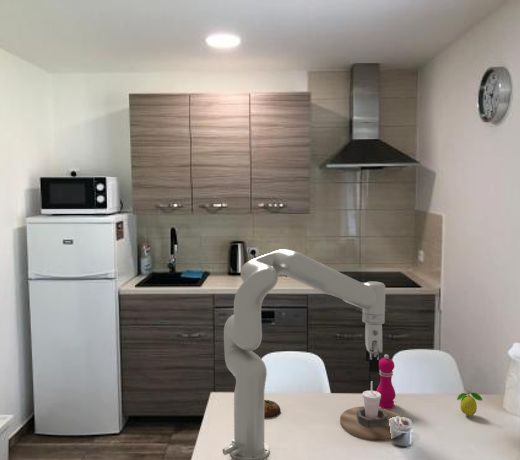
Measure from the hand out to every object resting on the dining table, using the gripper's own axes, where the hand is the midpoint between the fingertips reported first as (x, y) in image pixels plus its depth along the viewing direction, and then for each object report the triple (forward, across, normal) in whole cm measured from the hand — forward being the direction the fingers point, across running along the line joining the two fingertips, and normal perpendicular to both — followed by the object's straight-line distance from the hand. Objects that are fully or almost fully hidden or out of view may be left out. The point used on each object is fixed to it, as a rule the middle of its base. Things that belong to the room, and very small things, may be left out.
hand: (372, 365), depth 169 cm
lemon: (+21, +11, -37) cm, 44 cm away
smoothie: (+20, 0, 0) cm, 20 cm away
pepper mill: (+21, +17, -8) cm, 28 cm away
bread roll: (+22, +7, +38) cm, 44 cm away
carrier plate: (+21, 0, -1) cm, 21 cm away
